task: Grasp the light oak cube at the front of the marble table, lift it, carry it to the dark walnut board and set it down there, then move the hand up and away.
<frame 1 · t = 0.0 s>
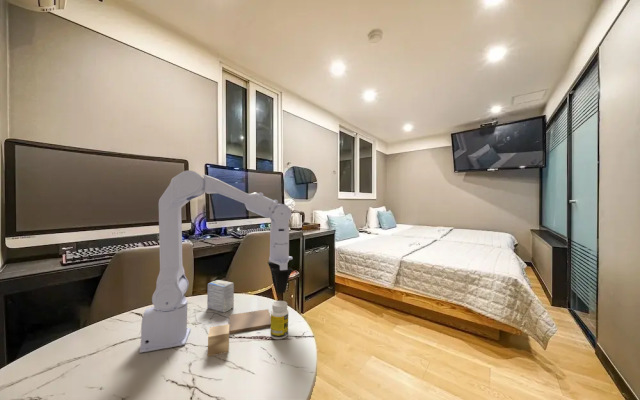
hand: (278, 288, 69), 10 cm above the table, tool pointing down, fingers open, 7 cm apart
medicine box: (220, 308, 78), on the table
walnut board: (250, 321, 69), on the table
oak cube: (218, 348, 56), on the table
supplement bottle: (279, 335, 62), on the table
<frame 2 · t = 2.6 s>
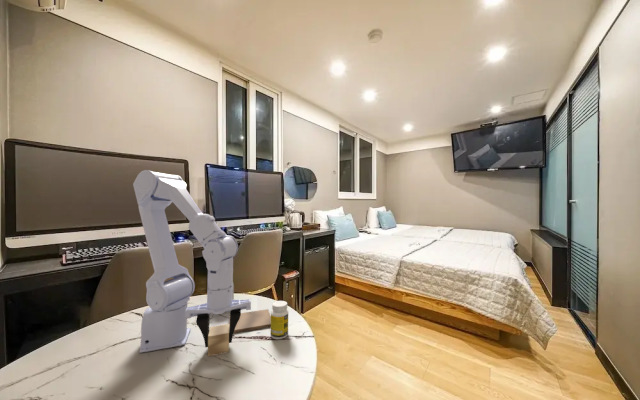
hand: (219, 342, 56), 1 cm above the table, tool pointing down, fingers closed on oak cube, 4 cm apart
oak cube: (218, 348, 56), on the table, touching gripper
everything else where it was.
when the fingers open (4 cm above the table, at t = 8.0 s): oak cube drops 2 cm, resting on walnut board.
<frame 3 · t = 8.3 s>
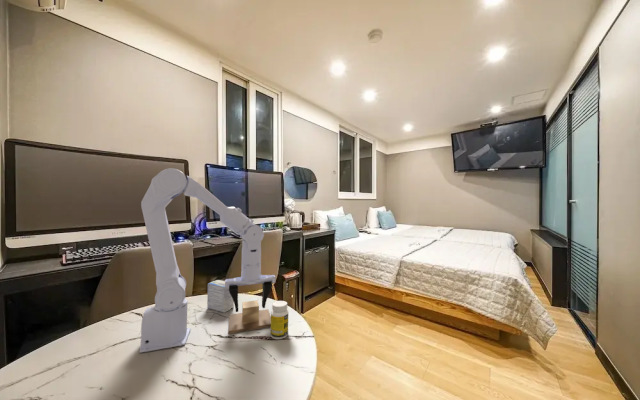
hand: (250, 308, 69), 4 cm above the table, tool pointing down, fingers open, 7 cm apart
oak cube: (250, 319, 69), point 1 cm above the table, touching walnut board
everything else where it was.
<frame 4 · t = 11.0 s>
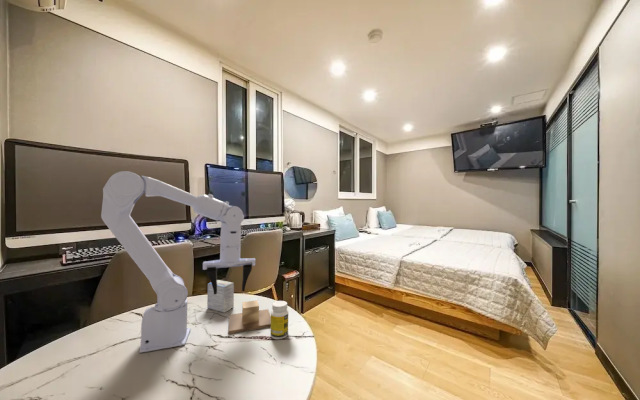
hand: (229, 291, 68), 9 cm above the table, tool pointing down, fingers open, 7 cm apart
nothing on the table moved.
at the end: oak cube inside the target area on the walnut board (0.1 cm from its centre), point 0.8 cm above the walnut board's base; oak cube tilted 0°; the gripper is holding nothing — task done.
